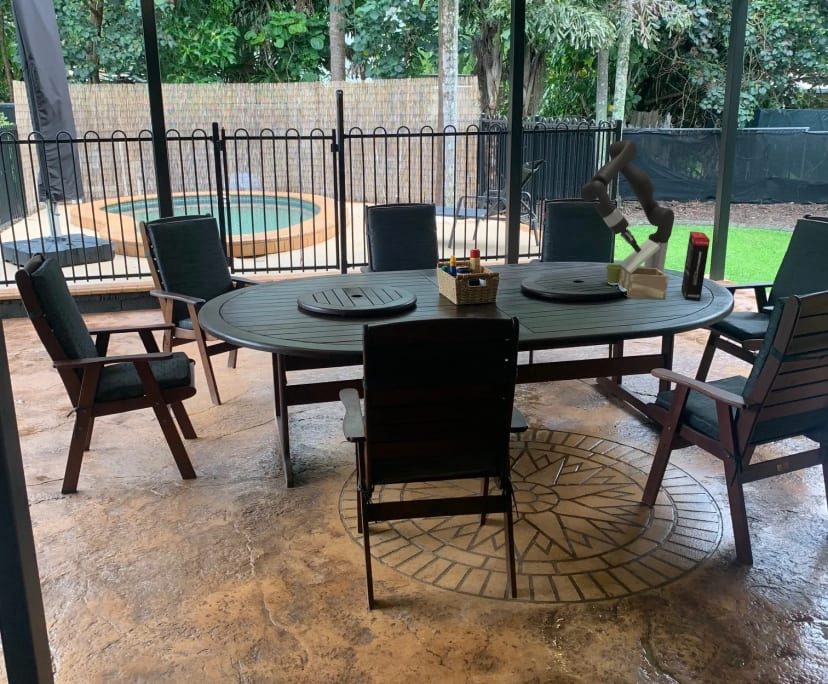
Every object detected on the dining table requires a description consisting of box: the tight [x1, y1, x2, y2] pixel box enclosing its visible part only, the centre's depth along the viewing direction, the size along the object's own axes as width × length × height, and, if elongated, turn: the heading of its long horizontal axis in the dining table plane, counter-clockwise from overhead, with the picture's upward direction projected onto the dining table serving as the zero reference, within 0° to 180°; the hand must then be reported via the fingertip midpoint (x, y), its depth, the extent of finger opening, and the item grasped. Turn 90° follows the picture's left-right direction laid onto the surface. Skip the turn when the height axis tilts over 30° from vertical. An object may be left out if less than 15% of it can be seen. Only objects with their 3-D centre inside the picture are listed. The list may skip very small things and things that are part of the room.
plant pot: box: [605, 263, 621, 283], centre depth 350 cm, size 9×9×9 cm
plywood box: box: [619, 266, 669, 300], centre depth 336 cm, size 16×16×10 cm
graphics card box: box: [681, 230, 711, 301], centre depth 335 cm, size 17×7×27 cm, turn 168°
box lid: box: [617, 238, 661, 274], centre depth 332 cm, size 16×17×1 cm
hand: (639, 251), depth 335 cm, fingers closed
